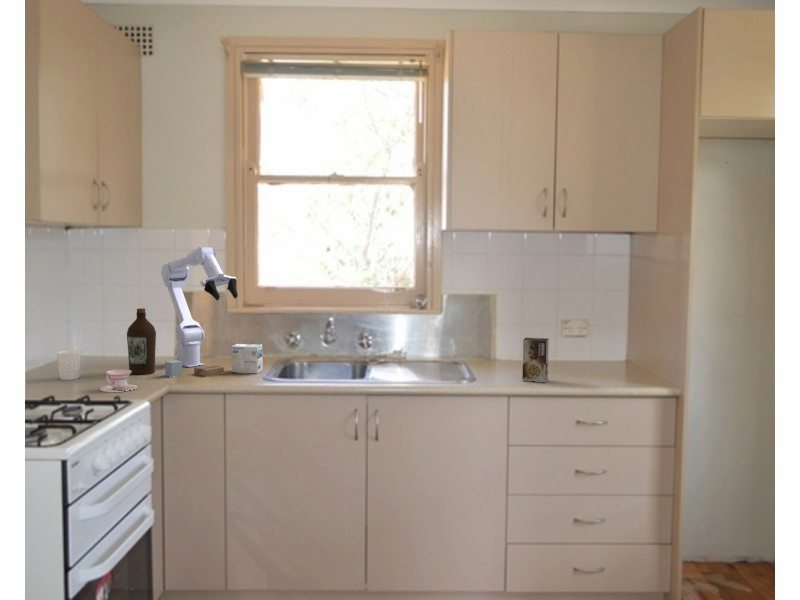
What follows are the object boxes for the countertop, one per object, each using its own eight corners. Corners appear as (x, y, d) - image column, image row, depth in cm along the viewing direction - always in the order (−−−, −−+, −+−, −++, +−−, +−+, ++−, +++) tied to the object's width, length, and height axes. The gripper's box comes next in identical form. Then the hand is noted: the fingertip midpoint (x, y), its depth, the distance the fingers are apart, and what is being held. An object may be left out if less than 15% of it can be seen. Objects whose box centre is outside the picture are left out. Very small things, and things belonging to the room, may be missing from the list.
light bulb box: (263, 370, 280) (262, 344, 280) (257, 373, 274) (257, 346, 273) (237, 369, 282) (236, 343, 281) (231, 373, 275) (231, 345, 274)
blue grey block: (165, 375, 268) (164, 361, 267) (175, 374, 271) (175, 360, 271) (171, 377, 265) (171, 363, 265) (182, 375, 268) (181, 361, 268)
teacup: (143, 386, 248) (143, 369, 248) (125, 393, 237) (124, 375, 236) (112, 385, 251) (112, 368, 250) (92, 392, 239) (92, 374, 238)
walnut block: (194, 375, 272) (194, 367, 271) (211, 372, 278) (211, 364, 278) (206, 377, 267) (206, 370, 266) (223, 374, 273) (223, 367, 272)
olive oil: (135, 369, 279) (133, 307, 277) (161, 370, 278) (159, 307, 276) (122, 374, 268) (121, 309, 266) (149, 375, 268) (148, 310, 266)
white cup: (76, 375, 266) (75, 349, 265) (84, 378, 261) (83, 352, 260) (54, 378, 261) (53, 351, 260) (62, 381, 255) (61, 354, 254)
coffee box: (548, 380, 268) (549, 338, 267) (545, 383, 262) (547, 340, 261) (524, 378, 271) (525, 336, 270) (521, 381, 265) (522, 339, 264)
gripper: (199, 265, 267) (213, 292, 261) (233, 263, 277) (247, 289, 271) (194, 278, 271) (207, 304, 265) (227, 275, 281) (241, 301, 275)
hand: (227, 297), depth 268 cm, fingers open, 7 cm apart
